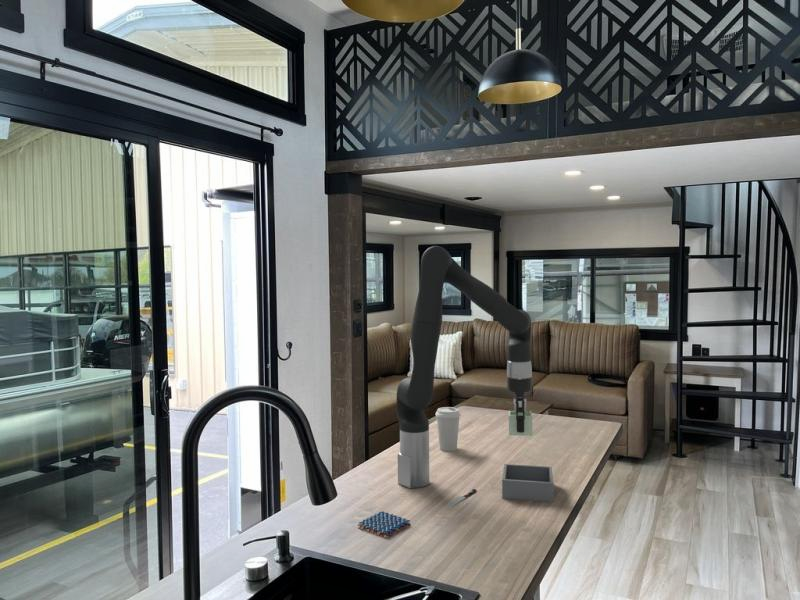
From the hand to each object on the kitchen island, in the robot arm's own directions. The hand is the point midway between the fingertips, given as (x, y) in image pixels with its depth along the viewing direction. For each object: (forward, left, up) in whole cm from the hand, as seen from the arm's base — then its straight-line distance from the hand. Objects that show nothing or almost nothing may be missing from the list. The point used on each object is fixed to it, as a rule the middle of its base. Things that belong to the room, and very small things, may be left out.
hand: (520, 428), depth 179 cm
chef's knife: (-22, +6, -19) cm, 30 cm away
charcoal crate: (-1, -4, -18) cm, 19 cm away
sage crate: (0, 0, -1) cm, 1 cm away
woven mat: (-49, +6, -19) cm, 53 cm away
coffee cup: (+11, +42, -18) cm, 47 cm away
